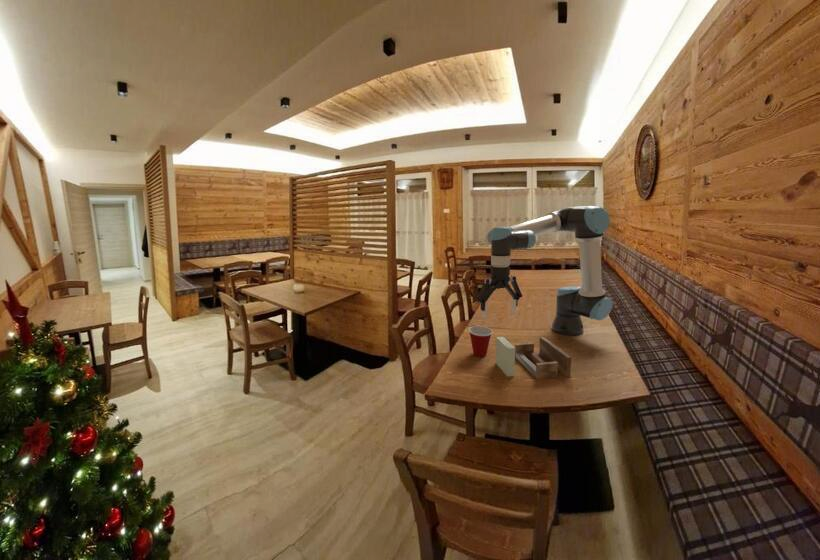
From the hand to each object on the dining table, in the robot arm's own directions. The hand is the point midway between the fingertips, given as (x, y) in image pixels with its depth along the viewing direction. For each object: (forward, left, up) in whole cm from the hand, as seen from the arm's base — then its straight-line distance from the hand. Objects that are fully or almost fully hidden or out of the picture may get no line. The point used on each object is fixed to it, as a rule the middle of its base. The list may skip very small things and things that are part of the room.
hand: (499, 316), depth 144 cm
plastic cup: (+4, -11, -22) cm, 24 cm away
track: (-16, +5, -21) cm, 27 cm away
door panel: (-1, +5, -22) cm, 22 cm away
